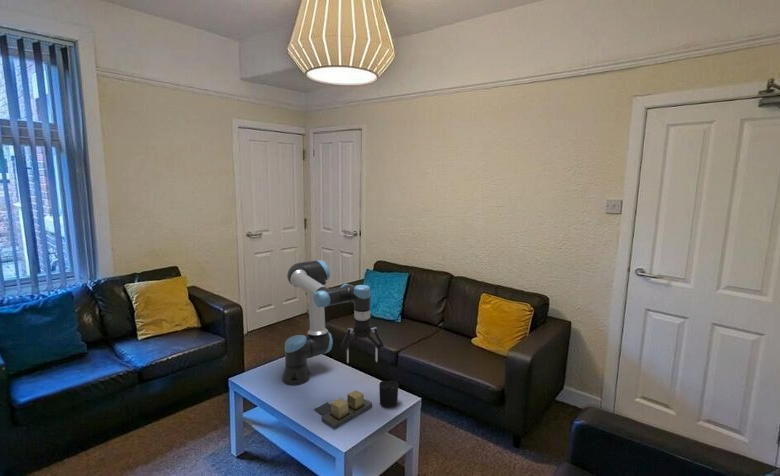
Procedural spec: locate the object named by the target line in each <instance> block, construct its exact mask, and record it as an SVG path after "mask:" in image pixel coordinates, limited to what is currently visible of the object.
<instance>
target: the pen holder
mask: <svg viewBox="0 0 780 476" xmlns="http://www.w3.org/2000/svg"><path fill="white" fill-rule="evenodd" d="M378 385H379V389H378V390H379V404H380V406H381V407H384V408H388V409H389V408H394V407H396V406H397V404H398V400H399V399H398V396H399V383H398V381H396V380H390V381H389V380H382V381H380V382H379V384H378Z"/></svg>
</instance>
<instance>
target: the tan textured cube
mask: <svg viewBox="0 0 780 476" xmlns="http://www.w3.org/2000/svg"><path fill="white" fill-rule="evenodd" d="M330 404H331V416H332V417H333V418H335V419H337V420H338V421H340V420H341V419H343V418H345V417H347V416H348V402H347V401H346V400H344V399H342V398H341V397H339V398H338V399H335V400H334V401H332V402H331V403H330Z"/></svg>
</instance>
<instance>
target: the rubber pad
mask: <svg viewBox="0 0 780 476" xmlns="http://www.w3.org/2000/svg"><path fill="white" fill-rule="evenodd" d="M313 410H314V412H316V413H318V414H319V415H321V416H322V417H323V416H325V415H326V414H328V413H330V412H331V403H330V402H325V403H323V404H321V405H319V406H318V407H316V408H314V409H313Z"/></svg>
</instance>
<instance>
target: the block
mask: <svg viewBox="0 0 780 476" xmlns="http://www.w3.org/2000/svg"><path fill="white" fill-rule="evenodd" d="M346 397H347V398H346V399H347V401H346V402H348V408H350V409H352V410H353V411H357V410H359V409H360V408H362V407H364V399H365V398H364V393H363V392H360V391H359V390H357V389H354V390H353V391H351V392H349V393H347V395H346Z"/></svg>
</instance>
